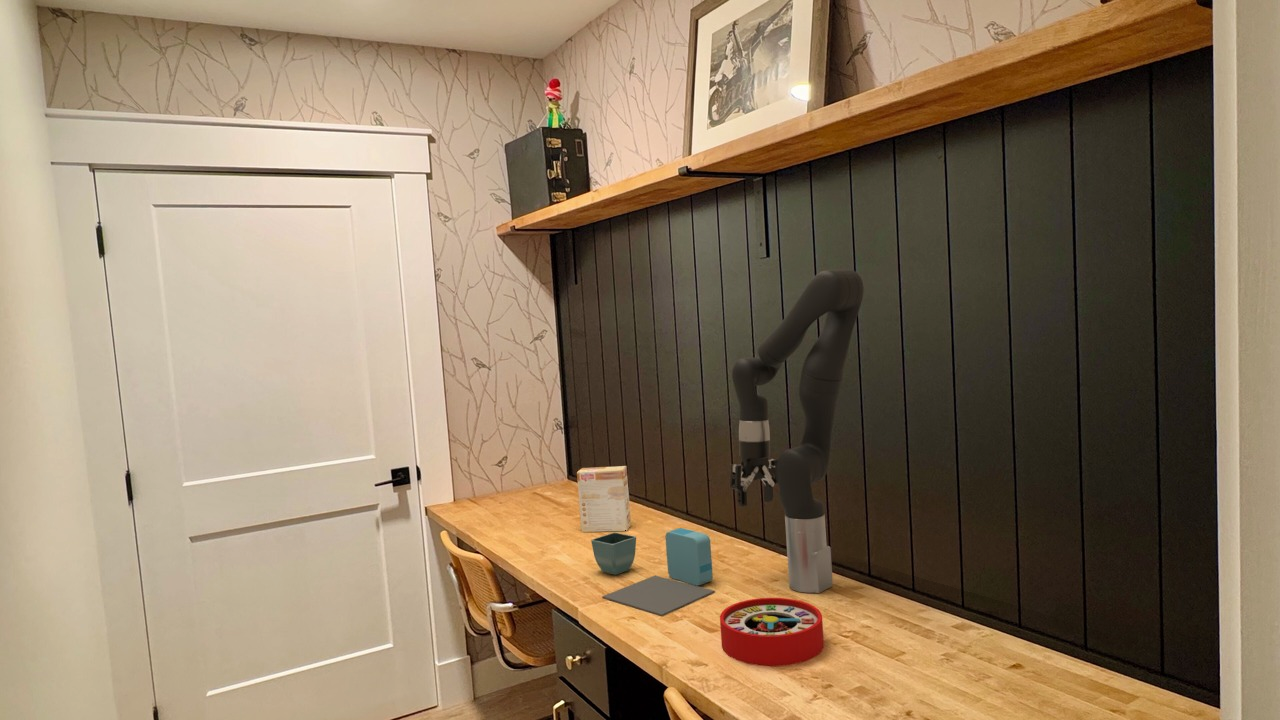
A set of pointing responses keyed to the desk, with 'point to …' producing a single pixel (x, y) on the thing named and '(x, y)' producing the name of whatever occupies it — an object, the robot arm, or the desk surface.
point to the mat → (658, 595)
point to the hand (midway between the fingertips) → (755, 503)
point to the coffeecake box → (604, 499)
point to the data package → (689, 556)
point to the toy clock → (771, 631)
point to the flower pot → (614, 552)
